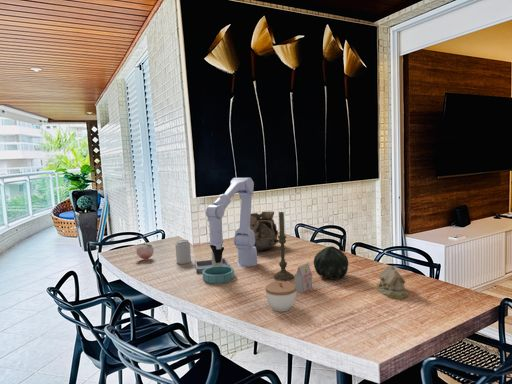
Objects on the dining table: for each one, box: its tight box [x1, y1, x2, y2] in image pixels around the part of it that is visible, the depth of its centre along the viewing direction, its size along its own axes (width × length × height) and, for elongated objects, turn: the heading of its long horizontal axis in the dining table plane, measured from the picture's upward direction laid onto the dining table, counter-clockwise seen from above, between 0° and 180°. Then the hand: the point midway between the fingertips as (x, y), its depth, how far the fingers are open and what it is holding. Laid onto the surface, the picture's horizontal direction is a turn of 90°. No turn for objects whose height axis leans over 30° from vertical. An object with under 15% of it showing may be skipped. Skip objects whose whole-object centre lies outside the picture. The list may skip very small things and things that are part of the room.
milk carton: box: [294, 262, 313, 294], centre depth 143 cm, size 4×7×10 cm, turn 138°
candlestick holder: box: [273, 210, 295, 281], centre depth 158 cm, size 9×9×30 cm
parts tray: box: [194, 257, 231, 274], centre depth 177 cm, size 16×14×2 cm
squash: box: [313, 245, 349, 281], centre depth 157 cm, size 14×15×15 cm
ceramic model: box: [376, 265, 409, 299], centre depth 137 cm, size 14×11×10 cm
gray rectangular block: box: [210, 250, 223, 267], centre depth 161 cm, size 4×4×6 cm
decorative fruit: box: [135, 241, 154, 260], centre depth 198 cm, size 9×8×10 cm
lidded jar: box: [265, 281, 297, 312], centre depth 127 cm, size 11×11×9 cm
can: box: [175, 239, 192, 265], centre depth 188 cm, size 8×8×12 cm
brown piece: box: [242, 210, 279, 251], centre depth 211 cm, size 25×24×22 cm
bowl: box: [201, 266, 235, 285], centre depth 162 cm, size 14×14×4 cm
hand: (217, 261), depth 161 cm, fingers closed on gray rectangular block, 4 cm apart
